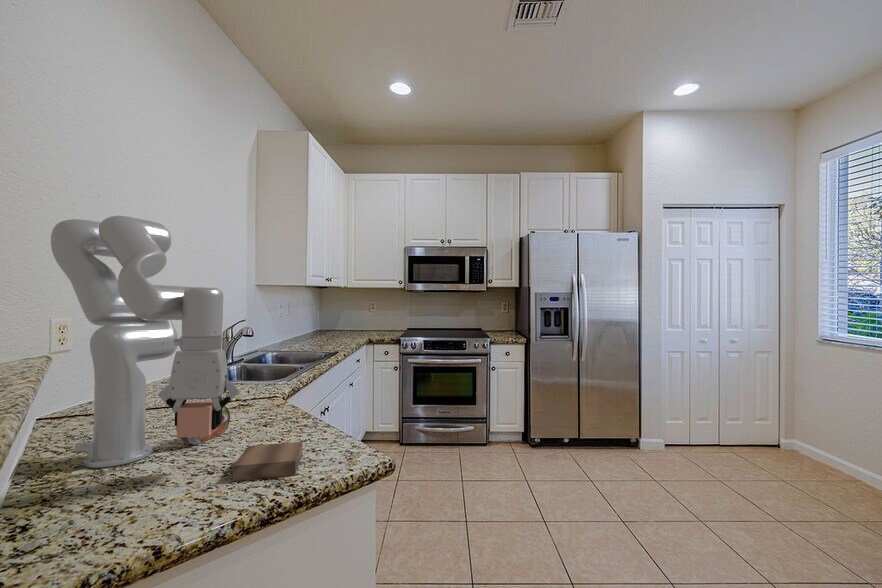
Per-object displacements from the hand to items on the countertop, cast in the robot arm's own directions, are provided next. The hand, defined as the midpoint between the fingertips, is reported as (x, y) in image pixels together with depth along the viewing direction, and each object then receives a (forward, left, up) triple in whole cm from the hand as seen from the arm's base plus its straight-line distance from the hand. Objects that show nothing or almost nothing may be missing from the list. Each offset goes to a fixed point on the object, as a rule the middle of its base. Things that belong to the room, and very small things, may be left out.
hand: (198, 427), depth 84 cm
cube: (0, 0, -1) cm, 1 cm away
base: (+15, 0, -9) cm, 17 cm away
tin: (-6, +24, -10) cm, 26 cm away
